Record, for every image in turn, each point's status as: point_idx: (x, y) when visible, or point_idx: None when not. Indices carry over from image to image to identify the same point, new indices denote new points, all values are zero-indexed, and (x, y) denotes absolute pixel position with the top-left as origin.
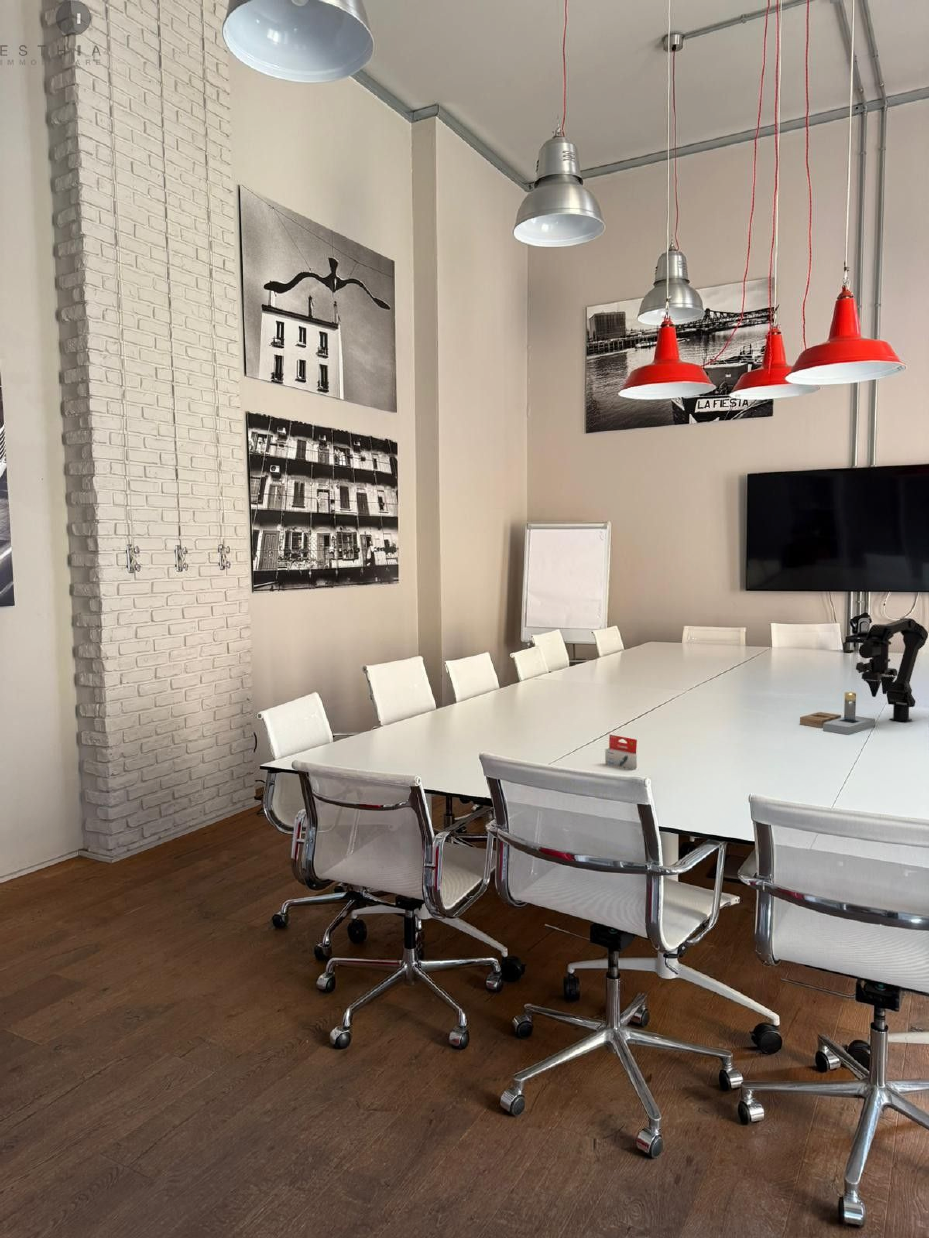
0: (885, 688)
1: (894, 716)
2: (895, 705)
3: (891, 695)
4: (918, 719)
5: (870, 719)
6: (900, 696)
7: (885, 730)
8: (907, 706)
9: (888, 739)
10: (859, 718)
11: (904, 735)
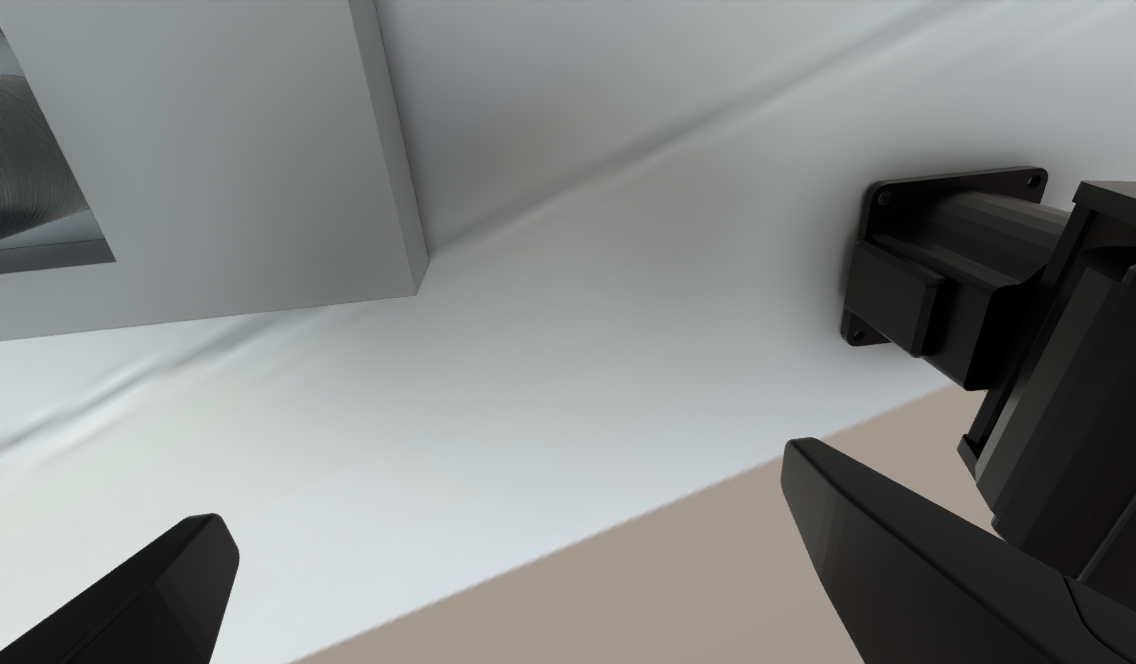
0: (862, 607)
1: (872, 260)
2: (1022, 293)
3: (1102, 363)
4: None
5: (330, 282)
6: (1026, 510)
7: (351, 411)
8: (963, 446)
9: (75, 579)
10: (243, 156)
11: (324, 565)
